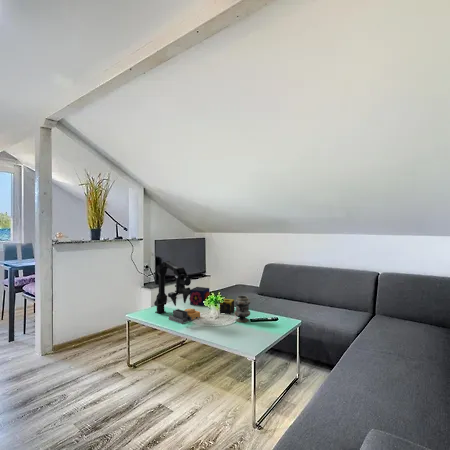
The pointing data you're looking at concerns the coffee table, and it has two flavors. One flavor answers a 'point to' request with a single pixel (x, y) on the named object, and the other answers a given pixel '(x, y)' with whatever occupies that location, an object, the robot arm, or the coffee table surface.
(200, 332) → the coffee table surface
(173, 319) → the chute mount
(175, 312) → the chute
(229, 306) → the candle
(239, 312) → the stone urn vase
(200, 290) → the decorative cube
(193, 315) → the brown low lump
